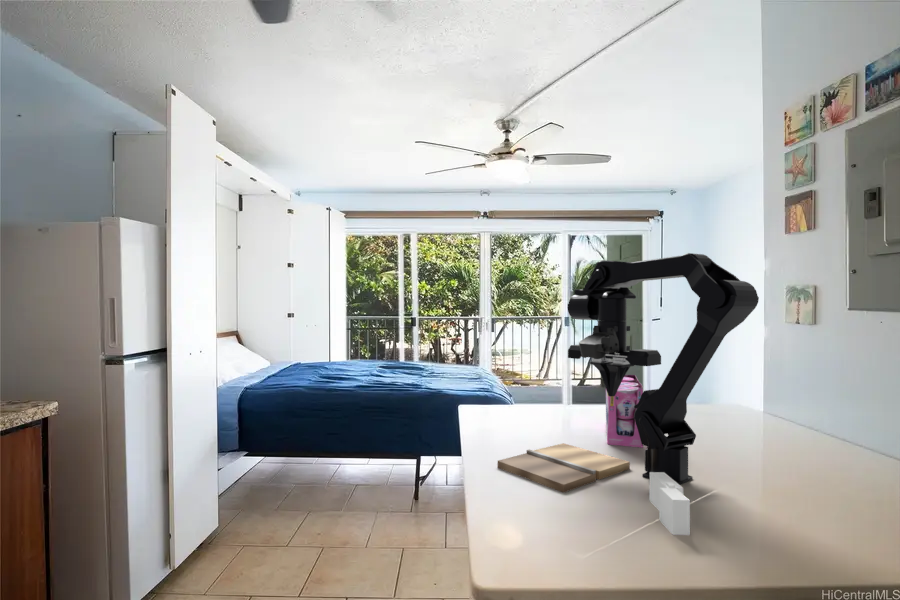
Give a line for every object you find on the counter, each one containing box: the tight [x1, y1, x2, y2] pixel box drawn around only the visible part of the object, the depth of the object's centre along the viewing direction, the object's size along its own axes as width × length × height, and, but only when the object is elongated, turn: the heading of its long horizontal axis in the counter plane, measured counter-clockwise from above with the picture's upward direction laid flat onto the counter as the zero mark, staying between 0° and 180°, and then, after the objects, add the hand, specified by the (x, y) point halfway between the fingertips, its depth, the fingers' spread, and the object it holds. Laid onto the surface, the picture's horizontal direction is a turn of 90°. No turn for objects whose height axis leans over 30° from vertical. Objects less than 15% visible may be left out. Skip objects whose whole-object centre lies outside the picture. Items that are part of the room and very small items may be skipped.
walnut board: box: [497, 448, 597, 493], centre depth 92 cm, size 16×9×2 cm, turn 38°
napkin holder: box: [649, 472, 691, 536], centre depth 73 cm, size 15×11×6 cm
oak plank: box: [532, 443, 631, 481], centre depth 98 cm, size 16×10×2 cm, turn 38°
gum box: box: [605, 374, 644, 449], centre depth 121 cm, size 24×8×14 cm, turn 163°
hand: (611, 396), depth 102 cm, fingers closed
